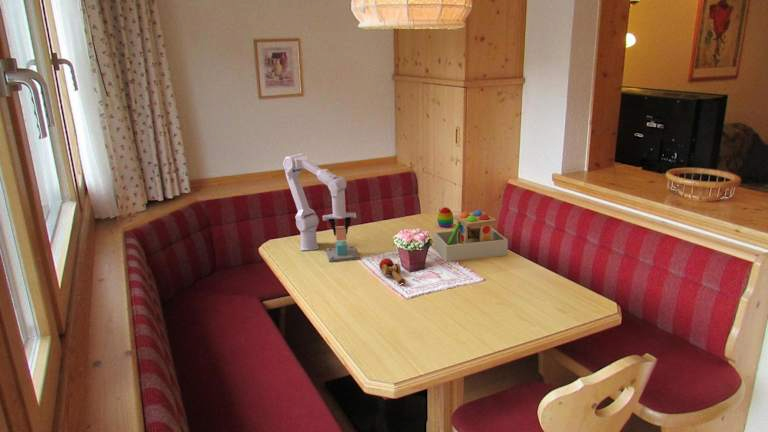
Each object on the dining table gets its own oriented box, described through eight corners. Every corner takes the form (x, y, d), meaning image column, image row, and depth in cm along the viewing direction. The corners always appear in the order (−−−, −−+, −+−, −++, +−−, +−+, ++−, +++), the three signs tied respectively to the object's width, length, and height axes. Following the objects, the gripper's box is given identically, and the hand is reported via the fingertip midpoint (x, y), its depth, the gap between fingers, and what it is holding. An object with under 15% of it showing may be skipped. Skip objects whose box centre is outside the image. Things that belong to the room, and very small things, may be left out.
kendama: (412, 286, 215) (393, 264, 230) (410, 273, 212) (391, 252, 227) (394, 293, 213) (376, 271, 228) (392, 279, 210) (374, 258, 225)
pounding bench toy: (448, 261, 235) (449, 221, 230) (435, 250, 248) (435, 212, 243) (496, 253, 242) (497, 215, 237) (480, 243, 255) (481, 206, 250)
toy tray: (433, 246, 253) (433, 232, 250) (490, 240, 258) (490, 226, 256) (446, 261, 235) (446, 246, 233) (507, 254, 240) (507, 239, 238)
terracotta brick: (335, 236, 246) (334, 226, 244) (344, 235, 247) (344, 225, 245) (336, 240, 240) (336, 230, 239) (346, 239, 241) (346, 229, 240)
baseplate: (325, 251, 251) (325, 247, 251) (353, 248, 254) (353, 244, 253) (329, 262, 238) (329, 258, 238) (358, 259, 241) (358, 255, 240)
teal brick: (336, 250, 248) (335, 241, 247) (345, 249, 249) (345, 240, 247) (337, 255, 242) (337, 246, 241) (347, 254, 243) (347, 245, 242)
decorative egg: (456, 227, 278) (456, 208, 275) (441, 229, 276) (441, 210, 273) (449, 223, 285) (449, 204, 282) (435, 224, 283) (435, 206, 280)
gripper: (323, 208, 234) (325, 238, 238) (356, 206, 237) (358, 235, 241) (321, 204, 241) (323, 233, 245) (354, 201, 243) (355, 230, 247)
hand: (340, 234), depth 243 cm, fingers closed on terracotta brick, 4 cm apart
